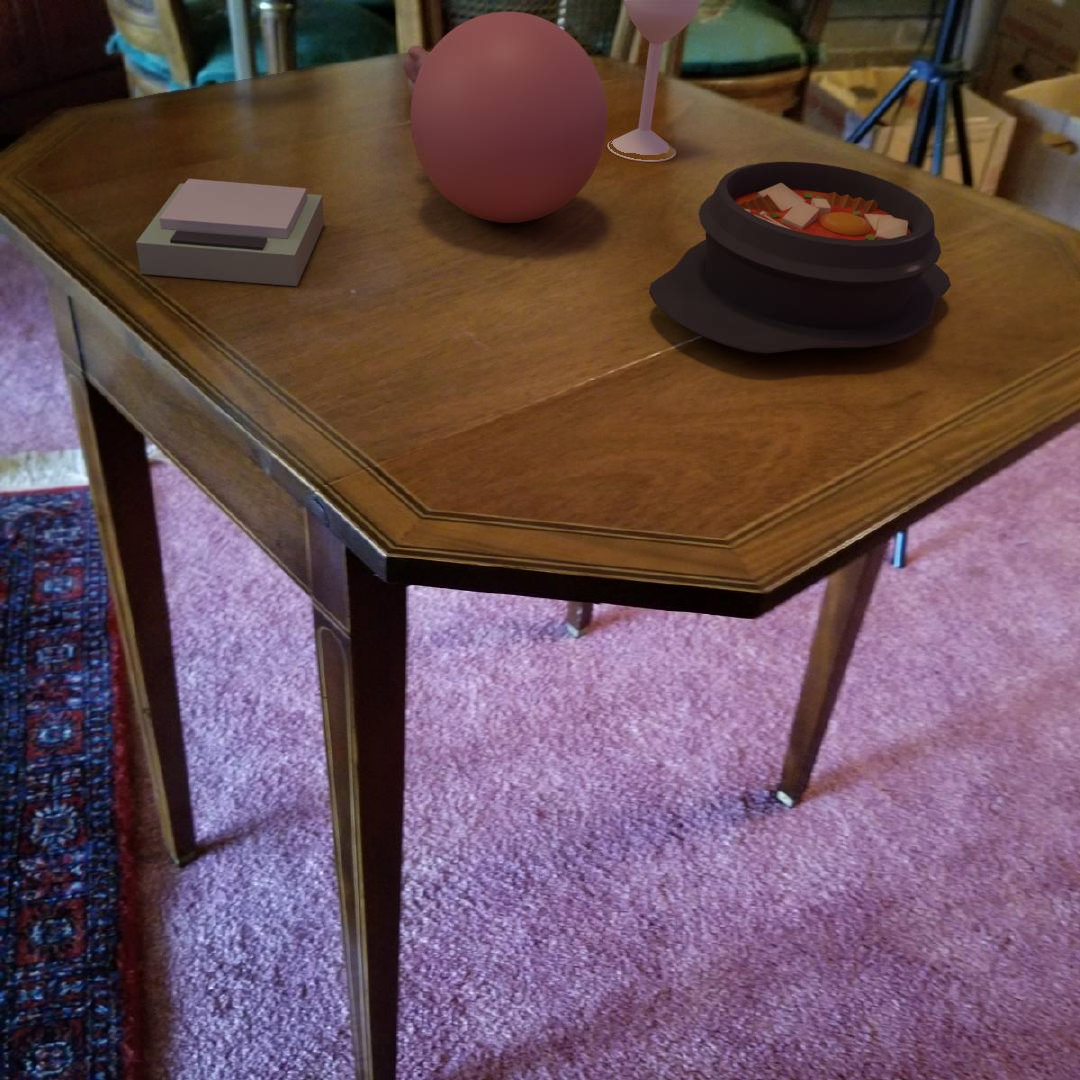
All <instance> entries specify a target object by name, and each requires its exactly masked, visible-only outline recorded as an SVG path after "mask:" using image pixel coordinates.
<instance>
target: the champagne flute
mask: <svg viewBox="0 0 1080 1080" xmlns="http://www.w3.org/2000/svg"><path fill="white" fill-rule="evenodd" d="M623 3H624V7H625V10H626V13H627V16H628V17H629V19H630V21H631V22H632V24H633V25H634V26H635V28H636V29H637V31H638V32H639V33H640V35H641V36H642V37H643V38H644V39H645V40H647V41H648V42H649V43H648V50H647V59H646V66H645V72H644V73H645V76H644V83H643V89H642V96H641V97H642V98H641V104H640V111H639V112H640V113H639V119H638V127H637V128H635V129H633V130H631V131H629V132H627V133H625V134H623V135H620V136H619V137H616V138H614V139H612V140H613V141H612V140H610V141H609V142H608V143H607V149H608V151H610V152H611V153H612V154H614V155H615V156H619V157H621V158H624V159H627V160H631V161H637V162H649V163H657V162H664V161H668V160H671V159H673V158H674V157H676V155H677V152H676V149H675V148H674V147H673V149H674V151H675V153H674V155H672V156H671V157H669V158H666V159H660V160H641V159H634V158H630V157H626V156H623V155H620V154H618V153H616V152H614V151H613V150H612V149H610V147H609V143H610V142H611V141H612V143H611V144H613V146H614V147H615V148H616V149H617V150H619V151H621V152H624V153H636V154H640V155H659V154H662V153H668V151H669V149H670V147H669V145H670V144H669V143H668V142H667V141H666V140H664V139H663V138H661V136H659V135H658V134H657V133H655V132H654V131H653V130H652V123H653V114H654V108H655V107H654V106H655V99H656V94H657V93H656V92H657V86H658V79H659V71H660V64H661V56H662V49H663V44H664V43H666V42H669V41H670V40H672V38H675V37H676V36H677V35H678V34H679V33H680V32H682V31H683V30H684V29H685V28H686V27H688V25H689V24H690V23H691V22H692V20H693V19H694V17H695V16H696V15H697V13H698V11H699V9H700V0H623ZM668 144H669V145H668Z"/></svg>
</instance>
